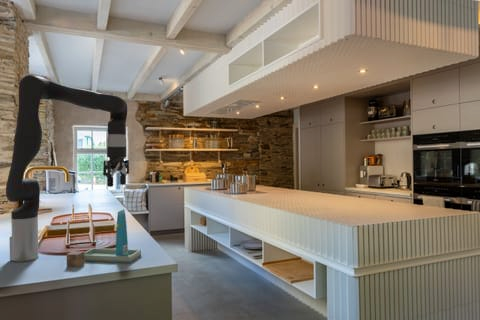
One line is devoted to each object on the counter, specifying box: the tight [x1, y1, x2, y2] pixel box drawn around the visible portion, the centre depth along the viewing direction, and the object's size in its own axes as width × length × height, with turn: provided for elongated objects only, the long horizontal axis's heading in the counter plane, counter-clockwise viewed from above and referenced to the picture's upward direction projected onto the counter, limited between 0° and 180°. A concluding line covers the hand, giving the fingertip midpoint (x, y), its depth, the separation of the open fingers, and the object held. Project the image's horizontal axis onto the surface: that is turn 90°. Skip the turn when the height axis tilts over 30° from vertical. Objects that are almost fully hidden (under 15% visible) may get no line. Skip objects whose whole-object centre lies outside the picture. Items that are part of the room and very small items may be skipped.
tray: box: [84, 247, 142, 264], centre depth 141 cm, size 22×10×2 cm, turn 82°
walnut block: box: [66, 250, 86, 268], centre depth 132 cm, size 4×4×5 cm
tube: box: [115, 208, 129, 256], centre depth 140 cm, size 7×5×19 cm, turn 6°
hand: (116, 185), depth 139 cm, fingers open, 8 cm apart
